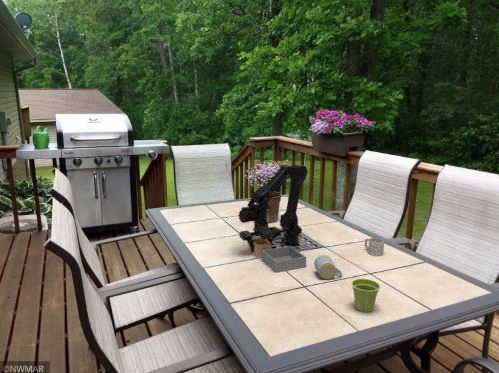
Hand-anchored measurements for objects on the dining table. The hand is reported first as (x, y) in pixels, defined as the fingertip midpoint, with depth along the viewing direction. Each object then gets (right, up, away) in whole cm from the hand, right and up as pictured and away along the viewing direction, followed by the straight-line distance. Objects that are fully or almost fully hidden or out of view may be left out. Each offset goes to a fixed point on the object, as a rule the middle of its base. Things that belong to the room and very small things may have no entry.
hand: (260, 251), depth 184 cm
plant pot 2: (+34, -12, -48) cm, 60 cm away
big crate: (+10, -4, -12) cm, 16 cm away
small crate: (0, -1, 0) cm, 1 cm away
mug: (+52, -1, +1) cm, 53 cm away
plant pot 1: (+6, +10, +51) cm, 52 cm away
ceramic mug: (+27, -6, -23) cm, 36 cm away
